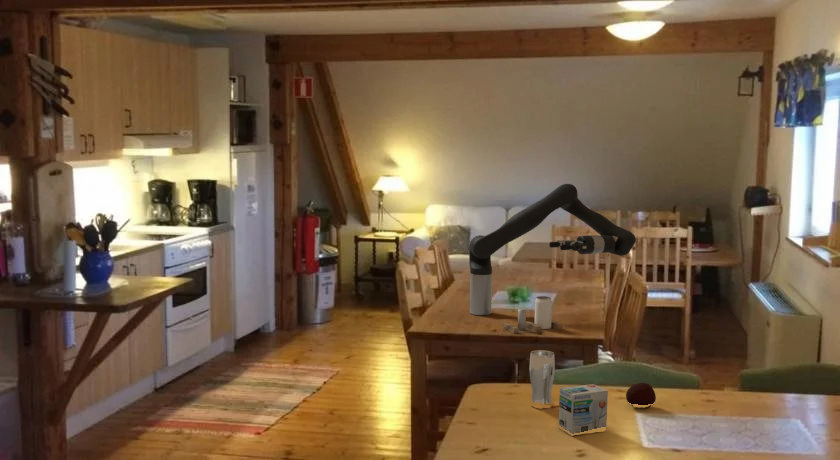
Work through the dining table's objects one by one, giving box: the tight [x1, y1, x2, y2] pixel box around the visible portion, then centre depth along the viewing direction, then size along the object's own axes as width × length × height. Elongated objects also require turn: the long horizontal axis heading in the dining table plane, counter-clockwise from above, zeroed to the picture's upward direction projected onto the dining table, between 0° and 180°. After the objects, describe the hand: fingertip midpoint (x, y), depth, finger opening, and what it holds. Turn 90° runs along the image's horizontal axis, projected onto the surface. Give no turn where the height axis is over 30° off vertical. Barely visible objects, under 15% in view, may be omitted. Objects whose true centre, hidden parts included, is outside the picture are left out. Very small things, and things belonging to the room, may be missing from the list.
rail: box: [502, 319, 563, 335], centre depth 325 cm, size 9×21×3 cm, turn 112°
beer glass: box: [528, 349, 556, 404], centre depth 233 cm, size 7×7×15 cm
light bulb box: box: [558, 383, 609, 434], centre depth 214 cm, size 11×7×11 cm, turn 114°
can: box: [534, 295, 553, 330], centre depth 327 cm, size 6×6×12 cm
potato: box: [625, 382, 657, 405], centre depth 233 cm, size 7×8×7 cm
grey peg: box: [517, 308, 527, 331], centre depth 323 cm, size 3×3×8 cm
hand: (555, 246), depth 335 cm, fingers open, 8 cm apart
